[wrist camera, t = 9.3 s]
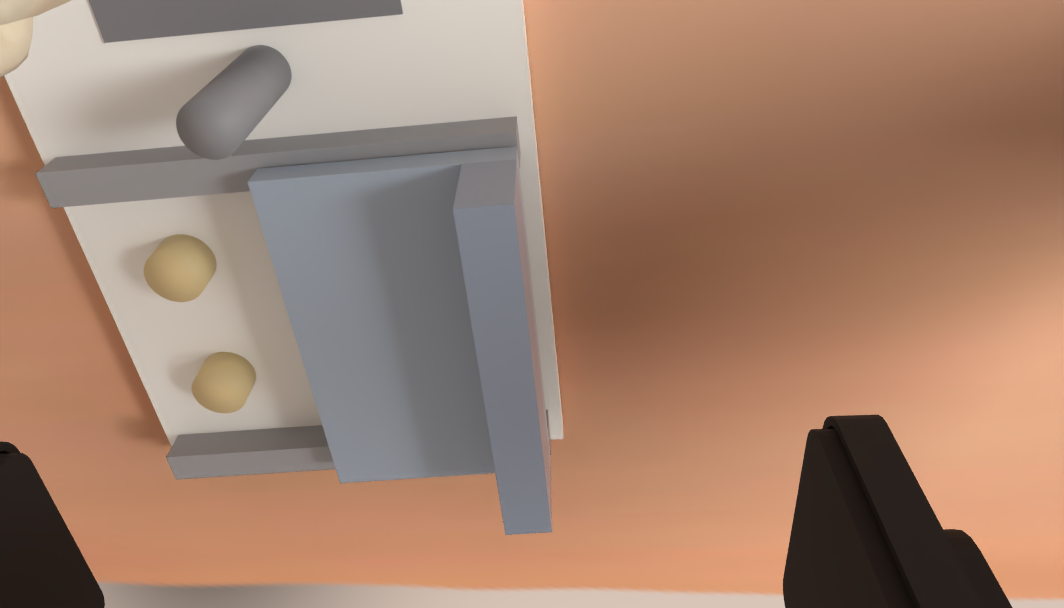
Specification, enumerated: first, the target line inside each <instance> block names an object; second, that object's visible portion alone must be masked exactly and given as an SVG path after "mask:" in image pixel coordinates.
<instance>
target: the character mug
mask: <svg viewBox="0 0 1064 608" xmlns="http://www.w3.org/2000/svg"><path fill="white" fill-rule="evenodd" d="M69 1H71V0H0V77H2V76H4V75H6V74H8V73H10V72H12V71H14V70H15V69H17V68H18V67H19V66H20V65H21V64H22V62H23V61H24V60H25V59H26V58H27V57H28V54H29V49H30V45H31V40H32V35H33V17H34V16H38V15H40V14H42V13H44V12H47V11H49V10H51V9H53V8H56V7H58V6H60V5H62V4H65V3H67V2H69Z"/></svg>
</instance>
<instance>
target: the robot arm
mask: <svg viewBox="0 0 1064 608" xmlns="http://www.w3.org/2000/svg"><path fill="white" fill-rule="evenodd" d="M783 594H784V602H785V607H786V608H1012V606H1011V604H1010V603H1009V601H1008V599H1007V597H1006V595H1005V594H1004V592H1003V590H1002V588H1001V587H1000V585H999V583H998V581H997V579H996V578H995V576H994V574H993V572H992V571H991V569H990V567H989V565H988V563H987V562H986V560H985V558H984V556H983V555H982V553H981V551H980V549H979V548H978V547H977V545H976V544H975V542H974V541H973V540H972V538H971V537H970V536H969V535H967V534H966V533H965V532H963V531H962V530H955V529H945V530H943V529H942V527H941V525H940V523H939V521H938V519H937V517H936V515H935V514H934V512H933V510H932V508H931V506H930V504H929V502H928V500H927V498H926V496H925V495H924V493H923V491H922V489H921V487H920V485H919V483H918V481H917V479H916V478H915V476H914V474H913V472H912V470H911V468H910V466H909V464H908V462H907V461H906V459H905V457H904V455H903V453H902V451H901V449H900V447H899V445H898V444H897V442H896V440H895V438H894V436H893V434H892V432H891V430H890V428H889V427H888V425H887V423H886V422H885V420H884V419H883V417H881V416H879V415H853V416H830V417H827V418H826V420H825V421H824V425H823V429H812V430H810V432H809V433H808V437H807V442H806V448H805V454H804V460H803V466H802V471H801V477H800V483H799V489H798V495H797V501H796V507H795V513H794V519H793V525H792V531H791V536H790V542H789V548H788V554H787V560H786V566H785V572H784V578H783ZM104 606H105V603H104V596H103V593H102V591H101V589H100V587H99V585H98V583H97V581H96V580H95V578H94V576H93V574H92V572H91V570H90V568H89V567H88V565H87V563H86V561H85V559H84V557H83V555H82V554H81V552H80V550H79V548H78V546H77V544H76V542H75V541H74V539H73V537H72V535H71V533H70V531H69V529H68V528H67V526H66V524H65V522H64V520H63V518H62V516H61V515H60V513H59V511H58V509H57V507H56V505H55V503H54V502H53V500H52V498H51V496H50V494H49V492H48V490H47V489H46V487H45V485H44V483H43V481H42V479H41V478H40V476H39V474H38V472H37V470H36V468H35V466H34V465H33V463H32V461H31V460H30V458H29V457H28V456H27V455H25V454H23V453H20V452H19V450H18V449H17V448H16V447H15V446H14V445H12V444H11V443H9V442H0V608H104Z"/></svg>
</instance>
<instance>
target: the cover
mask: <svg viewBox="0 0 1064 608" xmlns="http://www.w3.org/2000/svg"><path fill="white" fill-rule="evenodd" d="M247 183H248V186H249V189H250V192H251V195H252V199H253V202H254V205H255V208H256V212H257V215H258V218H259V221H260V225H261V228H262V231H263V234H264V238H265V241H266V244H267V247H268V251H269V254H270V257H271V260H272V264H273V267H274V270H275V273H276V277H277V280H278V283H279V286H280V290H281V293H282V296H283V299H284V303H285V306H286V309H287V312H288V316H289V319H290V322H291V325H292V328H293V332H294V335H295V338H296V341H297V345H298V348H299V351H300V354H301V358H302V361H303V364H304V367H305V371H306V374H307V377H308V380H309V384H310V387H311V390H312V393H313V397H314V400H315V403H316V406H317V410H318V413H319V416H320V419H321V423H322V426H323V429H324V432H325V436H326V439H327V442H328V445H329V449H330V452H331V455H332V458H333V461H334V465H335V468H336V471H337V474H338V478H339V481H340V483H349V482H365V481H380V480H396V479H411V478H427V477H442V476H457V475H473V474H488V473H496V479H497V486H498V492H499V498H500V504H501V510H502V517H503V523H504V529H505V535H512V534H529V533H545V532H552V512H551V466H550V445H549V436H548V426H547V417H546V408H545V399H544V389H543V380H542V371H541V362H540V352H539V343H538V334H537V325H536V316H535V306H534V297H533V288H532V279H531V269H530V260H529V251H528V242H527V232H526V223H525V214H524V205H523V196H522V186H521V177H520V168H519V159H518V149H517V146H514V147H502V148H491V149H479V150H468V151H456V152H444V153H433V154H421V155H410V156H398V157H387V158H375V159H363V160H352V161H340V162H329V163H317V164H306V165H294V166H283V167H271V168H259V169H257V170H256V171H255V172H254V174H253V175H252V177H251V178H250V179H249V181H248V182H247Z"/></svg>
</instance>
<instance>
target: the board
mask: <svg viewBox="0 0 1064 608" xmlns="http://www.w3.org/2000/svg"><path fill="white" fill-rule="evenodd" d="M4 77H5V79H6V81H7V83H8V85H9V88H10V90H11V92H12V94H13V97H14V99H15V101H16V103H17V105H18V108H19V110H20V112H21V114H22V117H23V119H24V121H25V123H26V125H27V128H28V130H29V132H30V134H31V136H32V139H33V141H34V143H35V145H36V148H37V150H38V152H39V154H40V156H41V159H42V161H43V163H44V165H45V166H44V167H43V168H41V169H40V170H39V171H37V172H36V173H35V174H36V176H37V178H38V181H39V183H40V185H41V187H42V189H43V191H44V194H45V196H46V198H47V200H48V202H49V204H50V207H51V208H58V207H64V210H65V212H66V214H67V216H68V219H69V221H70V223H71V225H72V227H73V230H74V232H75V234H76V236H77V238H78V241H79V243H80V245H81V247H82V250H83V252H84V254H85V256H86V258H87V261H88V263H89V265H90V267H91V270H92V272H93V274H94V276H95V278H96V281H97V283H98V285H99V287H100V289H101V292H102V294H103V296H104V298H105V301H106V303H107V305H108V307H109V309H110V312H111V314H112V316H113V318H114V321H115V323H116V325H117V327H118V329H119V332H120V334H121V336H122V338H123V340H124V343H125V345H126V347H127V349H128V352H129V354H130V356H131V358H132V360H133V363H134V365H135V367H136V369H137V372H138V374H139V376H140V378H141V380H142V383H143V385H144V387H145V389H146V391H147V394H148V396H149V398H150V400H151V403H152V405H153V407H154V409H155V411H156V414H157V416H158V418H159V420H160V423H161V425H162V427H163V429H164V431H165V434H166V436H167V438H168V440H169V442H170V445H171V449H170V451H169V453H168V455H167V456H166V459H167V461H168V463H169V465H170V467H171V469H172V472H173V474H174V476H175V478H176V480H177V479H192V478H207V477H222V476H238V475H253V474H268V473H283V472H298V471H314V470H329V469H336V468H335V465H334V461H333V458H332V455H331V452H330V449H329V445H328V442H327V439H326V436H325V432H324V429H323V426H322V423H321V419H320V416H319V413H318V410H317V406H316V403H315V400H314V397H313V393H312V390H311V387H310V384H309V380H308V377H307V374H306V371H305V367H304V364H303V361H302V358H301V354H300V351H299V348H298V345H297V341H296V338H295V335H294V332H293V328H292V325H291V322H290V319H289V316H288V312H287V309H286V306H285V303H284V299H283V296H282V293H281V290H280V286H279V283H278V280H277V277H276V273H275V270H274V267H273V264H272V260H271V257H270V254H269V251H268V247H267V244H266V241H265V238H264V234H263V231H262V228H261V225H260V221H259V218H258V215H257V212H256V208H255V205H254V202H253V199H252V195H251V192H250V189H249V186H248V183H247V182H248V181H249V179H250V178H251V177H252V175H253V174H254V172H255V171H256V170H257V169H259V168H271V167H283V166H294V165H306V164H317V163H329V162H340V161H352V160H363V159H375V158H387V157H398V156H410V155H421V154H433V153H444V152H456V151H468V150H479V149H491V148H502V147H514V146H517V149H518V159H519V168H520V177H521V186H522V196H523V205H524V214H525V223H526V232H527V242H528V251H529V260H530V269H531V279H532V288H533V297H534V306H535V316H536V325H537V334H538V343H539V352H540V362H541V371H542V380H543V389H544V399H545V408H546V417H547V426H548V436H549V445H550V455H551V440H555V439H563V418H562V407H561V397H560V386H559V375H558V365H557V354H556V344H555V333H554V322H553V312H552V301H551V290H550V280H549V269H548V259H547V248H546V237H545V227H544V216H543V206H542V195H541V184H540V174H539V163H538V153H537V142H536V131H535V121H534V110H533V100H532V89H531V78H530V68H529V57H528V46H527V36H526V25H525V15H524V4H523V0H71V1H69V2H67V3H65V4H62V5H60V6H58V7H56V8H53V9H51V10H49V11H47V12H44V13H42V14H40V15H38V16H34V17H33V35H32V40H31V45H30V49H29V54H28V57H27V58H26V59H25V60H24V61H23V62H22V64H21V65H20V66H19V67H18V68H17V69H15V70H14V71H12V72H10V73H8V74H6V75H4Z"/></svg>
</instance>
